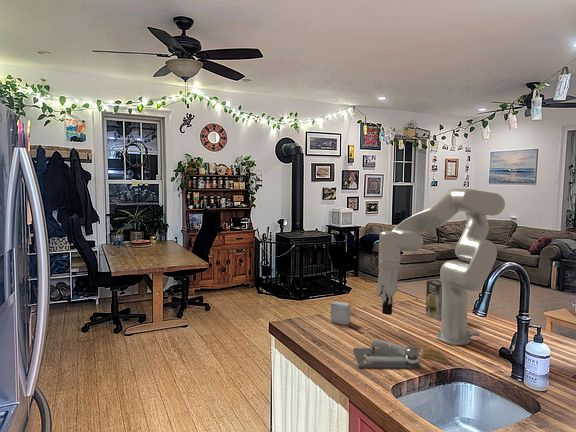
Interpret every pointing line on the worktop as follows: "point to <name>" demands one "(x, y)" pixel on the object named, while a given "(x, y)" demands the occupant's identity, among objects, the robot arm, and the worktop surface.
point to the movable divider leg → (396, 348)
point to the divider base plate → (379, 354)
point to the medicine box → (340, 313)
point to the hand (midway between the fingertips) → (387, 313)
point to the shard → (434, 355)
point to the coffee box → (434, 299)
